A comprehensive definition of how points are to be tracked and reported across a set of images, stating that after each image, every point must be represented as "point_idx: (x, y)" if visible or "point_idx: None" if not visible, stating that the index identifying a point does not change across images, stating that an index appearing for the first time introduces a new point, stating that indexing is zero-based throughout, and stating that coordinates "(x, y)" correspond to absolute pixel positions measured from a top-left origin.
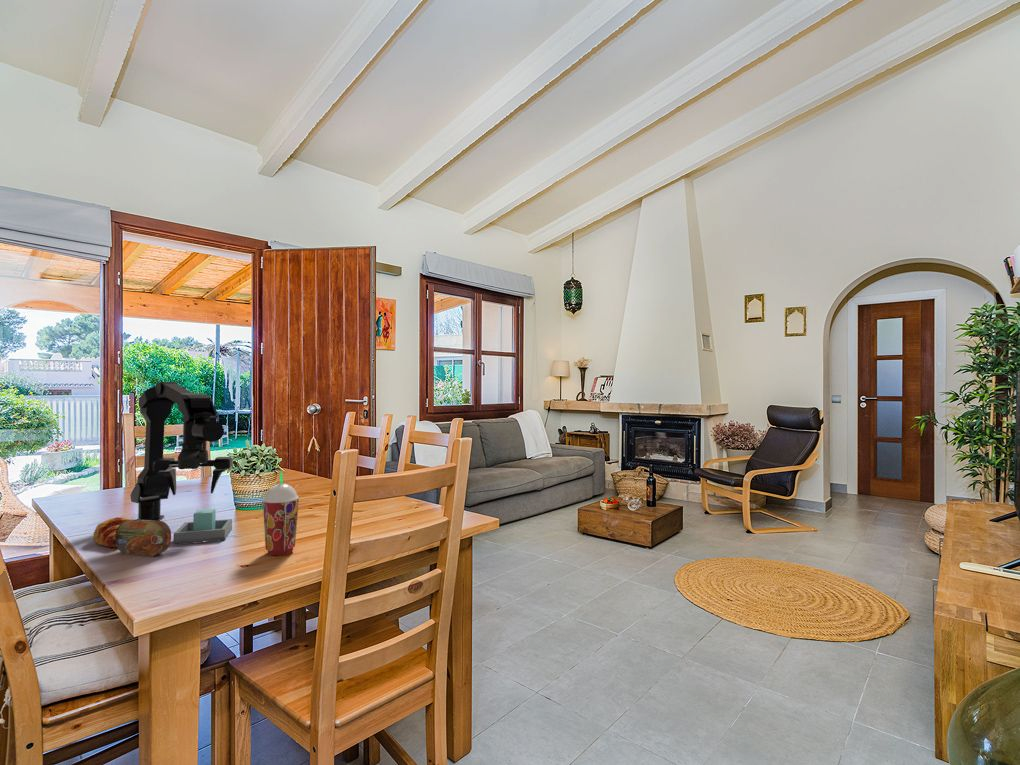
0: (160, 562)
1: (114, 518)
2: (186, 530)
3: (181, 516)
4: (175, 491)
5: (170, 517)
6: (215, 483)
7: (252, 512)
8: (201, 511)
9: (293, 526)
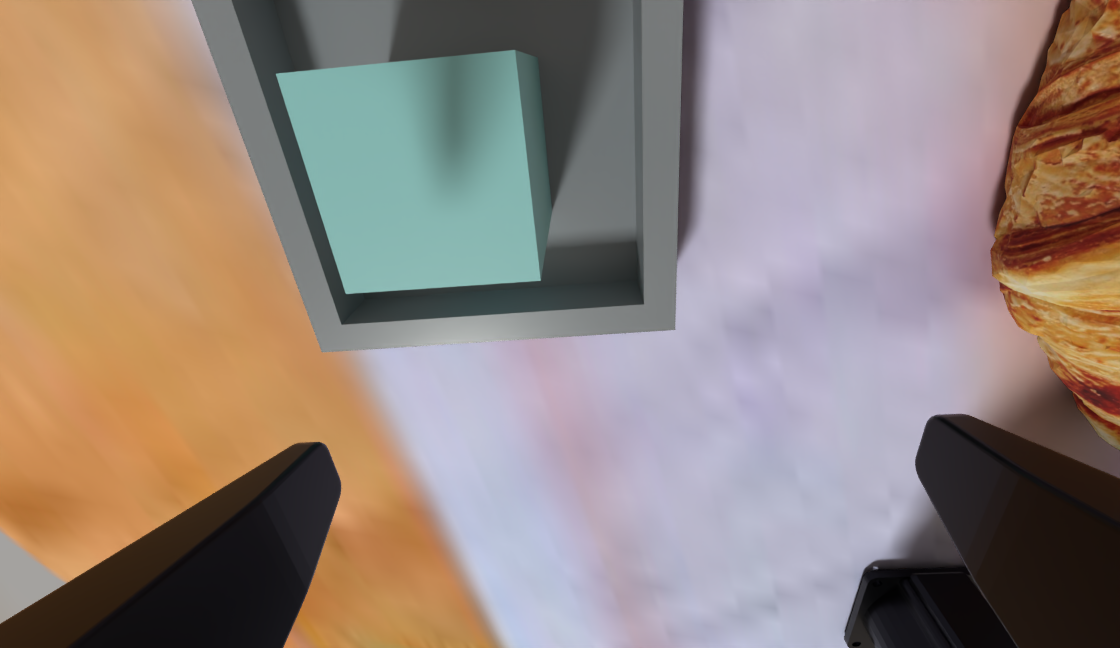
0: None
1: None
2: (637, 232)
3: (757, 632)
4: (961, 494)
5: (809, 626)
6: (38, 601)
7: (410, 629)
8: (460, 189)
9: None
